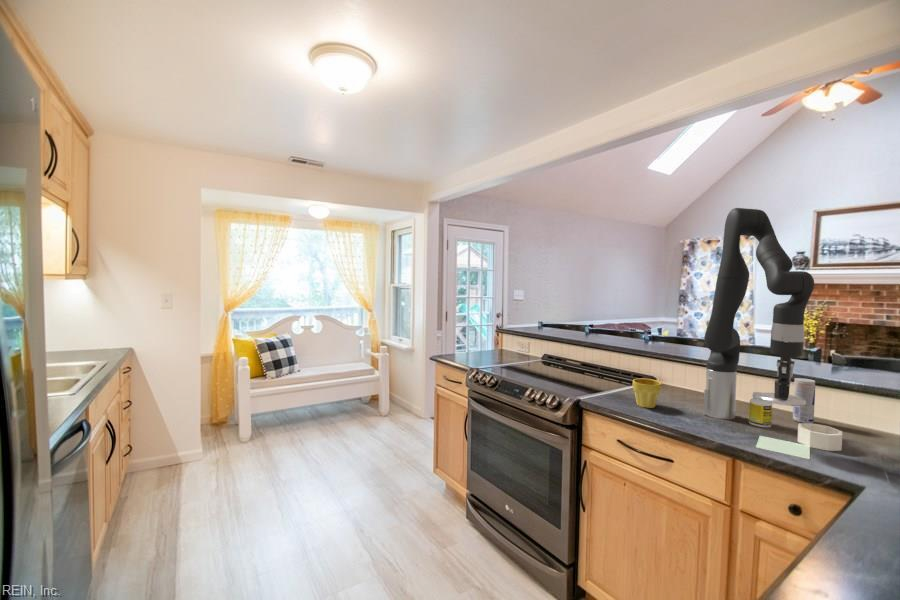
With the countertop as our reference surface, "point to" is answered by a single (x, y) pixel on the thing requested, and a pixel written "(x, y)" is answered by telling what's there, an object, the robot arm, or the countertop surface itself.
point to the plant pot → (646, 392)
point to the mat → (784, 447)
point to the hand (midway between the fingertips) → (783, 396)
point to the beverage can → (807, 392)
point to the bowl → (820, 436)
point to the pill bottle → (760, 411)
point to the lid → (781, 401)
